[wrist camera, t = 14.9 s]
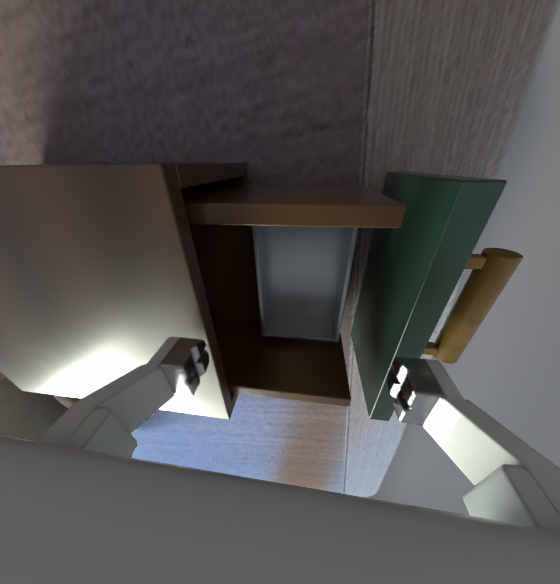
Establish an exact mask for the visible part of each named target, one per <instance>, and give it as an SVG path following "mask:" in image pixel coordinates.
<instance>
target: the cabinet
mask: <svg viewBox="0 0 560 584" xmlns="http://www.w3.org/2000/svg"><path fill="white" fill-rule="evenodd" d="M193 186H248V174H247V164H246V163H186V162H154V163H104V164H55V165H5V166H0V372H2V373H3V374H4V375H5V376H6V377H7V378H8V379H9V380H10V381H12V382H13V383H14V384H15V385H16V386H17V387H18V388H19V389H20V390H22V391H28V392H35V393H43V394H50V395H57V396H64V397H72V398H79V399H82V398H84V397H85V396H87V395H89V394H91V393H92V392H94V391H96V390H98V389H100V388H101V387H103V386H105V385H107V384H109V383H110V382H112V381H114V380H116V379H117V378H119V377H121V376H123V375H125V374H126V373H128V372H130V371H132V370H134V369H135V368H137V367H139V366H141V365H146V364H147V363H148V362H149V360H150V359H151V358H152V357H153V356H154V354H155V353H156V352H157V351H158V350H159V348H160V347H161V346H162V345H163V344H164V342H165V341H166V340H167V339H168V338H169V337H171V336H175V337H185V338H193V339H202V340H205V343H206V347H205V350H206V351H207V352H208V354H209V364H208V368H207V370H206V372H205V374H203V375H202V376H201V377H199V378H200V384H199V386H198V388H197V390H196V392H195V394H194V395H193V396H188V395H178V394H174V396H173V397H172V398H171V399H170V400H169V401H167V402H166V403H165V404H164V405H163V406H162V407H160V408H159V409H158V410H166V411H173V412H180V413H187V414H194V415H202V416H209V417H216V418H223V419H230V417H231V414H232V411H233V407H234V405H235V402H236V399H237V396H238V393H234V392H229V389H228V384H227V380H226V376H225V372H224V368H223V364H222V359H221V355H220V351H219V347H218V343H217V339H216V334H215V330H214V326H213V322H212V318H211V314H210V309H209V305H208V301H207V297H206V293H205V289H204V284H203V280H202V276H201V272H200V268H199V264H198V259H197V255H196V251H195V247H194V243H193V239H192V234H191V230H190V226H189V222H188V218H187V214H186V209H185V205H184V201H183V197H182V193H181V189H183V188H188V187H193Z"/></svg>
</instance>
